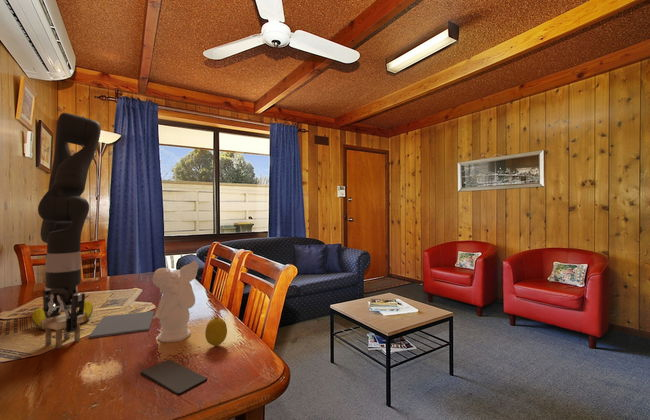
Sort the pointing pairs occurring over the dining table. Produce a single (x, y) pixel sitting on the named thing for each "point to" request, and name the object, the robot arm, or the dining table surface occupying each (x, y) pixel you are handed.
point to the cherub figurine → (175, 301)
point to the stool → (60, 329)
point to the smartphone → (173, 377)
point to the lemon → (216, 331)
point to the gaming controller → (42, 315)
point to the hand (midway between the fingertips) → (63, 329)
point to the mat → (123, 324)
